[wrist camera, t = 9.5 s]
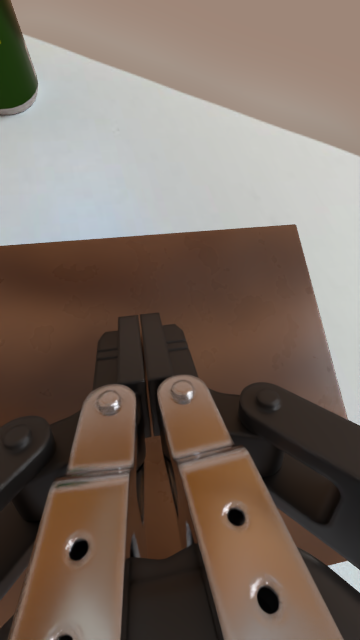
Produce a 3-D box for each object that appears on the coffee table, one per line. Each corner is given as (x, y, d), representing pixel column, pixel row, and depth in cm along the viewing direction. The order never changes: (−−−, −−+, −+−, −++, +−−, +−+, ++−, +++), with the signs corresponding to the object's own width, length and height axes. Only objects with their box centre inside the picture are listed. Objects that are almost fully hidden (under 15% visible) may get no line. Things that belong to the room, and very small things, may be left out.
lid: (-58, 259, 12) (-72, 250, 12) (288, 232, 15) (296, 223, 14) (-78, 649, 9) (-99, 672, 8) (368, 542, 11) (384, 552, 11)
